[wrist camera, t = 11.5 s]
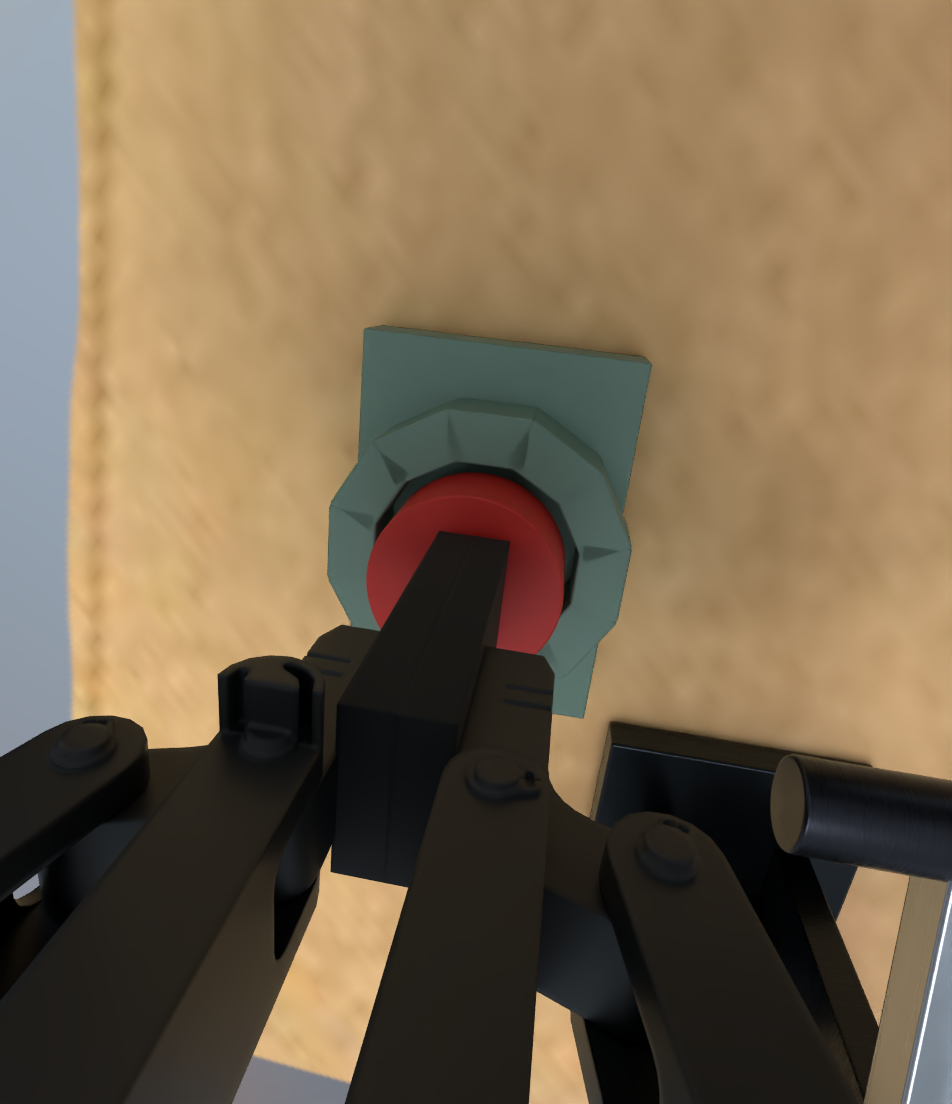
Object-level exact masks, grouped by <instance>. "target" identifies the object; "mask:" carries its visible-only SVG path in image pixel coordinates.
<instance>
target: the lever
mask: <svg viewBox="0 0 952 1104" xmlns="http://www.w3.org/2000/svg"><path fill="white" fill-rule="evenodd" d="M770 809H771V821H772V827H773V832H774V835H775V838H776V841H777V843H778V845H779V847H780V848H781V849H782V850H783V851H785V852H786V853H788V854H792V855H798V856H803V857H809V858H815V859H820V860H826V861H831V862H837V863H842V864H848V865H853V866H859V867H864V868H870V869H876V870H881V871H887V872H892V873H898V874H903V875H909V876H910V878H909V883H908V888H907V893H906V898H905V902H904V907H903V912H902V917H901V922H900V927H899V932H898V937H897V942H896V946H895V951H894V956H893V961H892V966H891V971H890V976H889V981H888V985H887V990H886V995H885V1000H884V1005H883V1010H882V1015H881V1020H880V1025H879V1029H878V1034H877V1039H876V1044H875V1049H874V1054H873V1059H872V1064H871V1069H870V1073H869V1078H868V1083H867V1088H866V1093H865V1098H864V1103H863V1104H952V781H951V780H945V779H939V778H933V777H927V776H921V775H915V774H909V773H903V772H897V771H891V770H885V769H879V768H873V767H867V766H862V765H856V764H850V763H844V762H838V761H832V760H826V759H820V758H814V757H808V756H802V755H796V754H791V755H787V756H785V757H784V758H783V759H782V760H781V761H780V763H779V765H778V767H777V769H776V772H775V775H774V779H773V783H772V789H771V801H770Z"/></svg>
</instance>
